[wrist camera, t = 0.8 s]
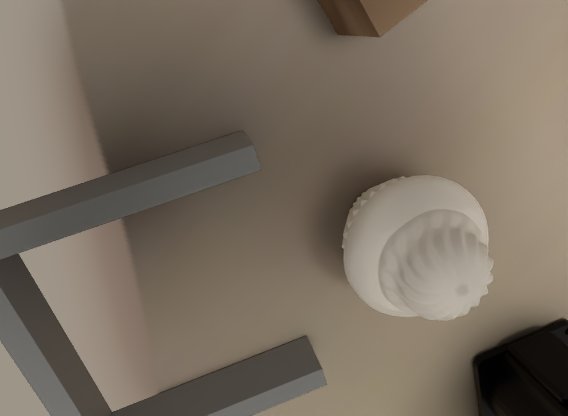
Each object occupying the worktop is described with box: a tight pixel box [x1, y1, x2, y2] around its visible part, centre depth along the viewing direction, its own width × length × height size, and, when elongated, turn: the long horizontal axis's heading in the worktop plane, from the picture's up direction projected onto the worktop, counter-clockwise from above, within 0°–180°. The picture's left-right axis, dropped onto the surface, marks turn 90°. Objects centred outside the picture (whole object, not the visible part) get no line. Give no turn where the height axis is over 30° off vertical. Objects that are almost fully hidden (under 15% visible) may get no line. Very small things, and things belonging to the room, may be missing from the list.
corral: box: [0, 130, 327, 416], centre depth 20 cm, size 12×11×2 cm
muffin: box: [342, 175, 494, 321], centre depth 19 cm, size 6×6×7 cm
